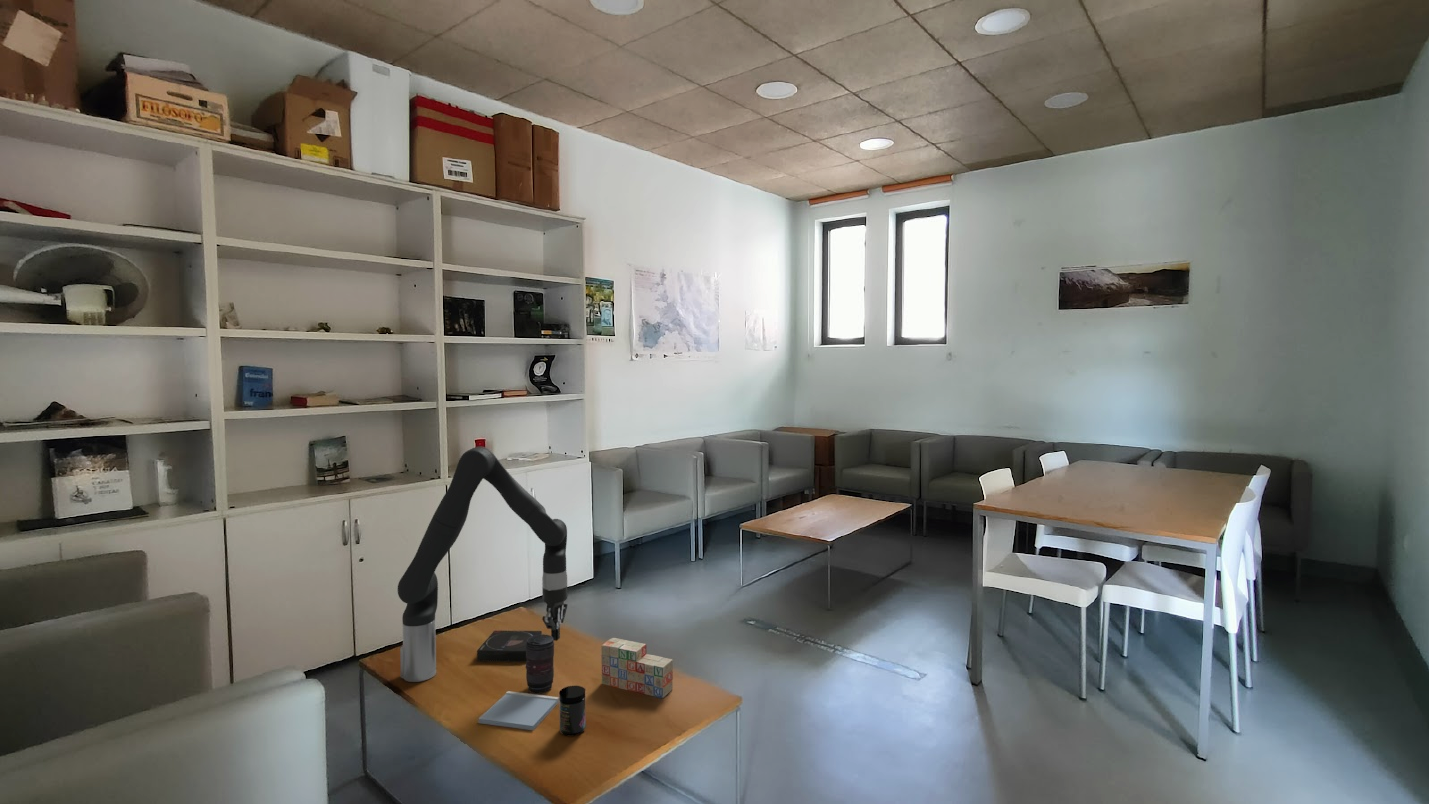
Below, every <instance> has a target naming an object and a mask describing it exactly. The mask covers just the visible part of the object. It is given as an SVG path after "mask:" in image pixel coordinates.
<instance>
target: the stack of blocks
mask: <svg viewBox="0 0 1429 804" xmlns="http://www.w3.org/2000/svg"><path fill="white" fill-rule="evenodd" d="M600 648H601V650H600V651H601V655H600V656H601V659H600V660H601V684H602V685H605V686H610V687H613V688H617V689H622V690H625V691H630V692H635V693H638V694H643V695H644V694H645V695H647V696H652V697H653V698H654V697H655V698H659V699H663V698H665V697H666V696H667V695H668V694H669V693H670V692H672V691H673V688H674V687H673V686H674V685H673V679H674V677H673V676H674V675H673V672H674V671H673V668H674V661H673V660H674V659H672V658H669V657H668V658H667V657H664V656H660V655H659V656H658V655H654V654H648V653H647V643H642V642H638V641H632V640H626V639H622V638H618V637H617V638H616V637H612V638H610V639H608V640H607V641H605V642H604V643H603V644H601V647H600Z"/></svg>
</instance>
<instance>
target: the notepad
mask: <svg viewBox="0 0 1429 804" xmlns="http://www.w3.org/2000/svg"><path fill="white" fill-rule="evenodd" d="M558 704H559V696H551V695H550V696H549V695H543V694H536V693H527V692H517V691H509V690H507V691H506V692H505V694H504V695H503V696H502V697H500V698H499V700H497V701H496V702H495V703H494V704H493V705H492V706H491V707H489V708H488V710H486V711H485V712H484V713H483V714H482V715H481V716H479V718H478V724H483V725H491V726H499V727H506V728H514V729H520V730H526V731H527V730H529V731H534V730H535V729H536V728H537V727H538V726H539V725H540V724H541V722H543V720H544V719H545V718H546V717H547V716H548V715H549V714H550V713H551V712H552V711H553V709H554V708H555V707H556V706H557V705H558Z"/></svg>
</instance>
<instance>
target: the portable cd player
mask: <svg viewBox="0 0 1429 804" xmlns="http://www.w3.org/2000/svg"><path fill="white" fill-rule="evenodd" d="M542 634H543V632H542V630H493V631H492V633H491V634H490V635H489V636H488V637H487V638H486V639H485V640H484V642H483V643H482V644H481V646H479V648H478V649H477V650H476V661H477V662H506V663H507V662H508V663H509V662H511V663H512V662H516V663H517V662H519V663H521V662H525V663H526V662H527V659H526V644H527V639H528V638H529V637H531V636H534V635H542Z"/></svg>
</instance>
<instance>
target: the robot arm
mask: <svg viewBox="0 0 1429 804" xmlns="http://www.w3.org/2000/svg"><path fill="white" fill-rule="evenodd" d="M456 465H457V466H456V468H455V471H454V474H453V476H452V479H451V482H450V485H449V487H448V489H447V491H446V492H445V494H444V495H443V497H442V499H441V500H440V502H439V504H438V506H437V508H436V509H435V511H434V514H433V516H432V518H431V520H430V522H429V523H428V525H427V528H426V530H425V532H424V535H423V537H422V539H421V541H420V543H419V546H418V549H417V550H416V554H415V555H414V557H413V558H412V560H411V562H410V563H409V566H408V567H407V569H406V570H405V572H404V574H403V575H402V576H401V578H400V579H399V581H398V584H397V595H398V598H399V599H400V600H401V601H402V602H403V603H404V604H406V607H405V609H404V611H403V614H402V646H401V647H400V650H399V656H400V658H399V659H400V679H403V680H404V681H405V682H409V683H420V682H425V681H427V680H430V679H432V678H433V677H434V676H436V675H437V646H436V645H437V644H436V643H437V642H436V641H437V638H436V613H437V609H438V601H439V600H438V599H439V597H438V596H439V595H438V594H439V585H438V584H439V583H438V577H437V574H436V573H435V571H436V570H437V567H438V566H439V565H440V563H441V562H442V560H443V559H444V557H445V556H446V555H447V553H448V552H449V551H450V550H451V548H452V547H453V545H454V544H455V542H456V541H457V539H458V537H459V535H460V533H461V531H462V529H463V528H464V526H465V523H466V521H467V517H468V514H469V510H470V509H469V508H470V505H471V501H472V498H473V496H474V493H475V492H476V490H477V489H478V487H479V486H480V484H481V482H483V480H485V481H486V482H488V483H489V484H490V485H491V486H493V487H494V488H495V490H496V491H497V492H498V493H499V494H500V496H501V497H502V498H503V500H504V501H505V503H506V504H507V506H508V507H509V508H510V509H511V510H512V511H513V512H514V513H515V514H516V515H517V516H518V517H519V518H520V519H521V520H522V521H523V522H524V523H526V524H527V525H528V526H529V527H530V529H531V530H532V532H533V533H534V534H535V535H536V536H537V538H538V539H539V540H540V541H541V542H542V543H543V544H544V554H543V557H542V580H541V581H542V583H541V585H542V587H541V588H542V593H541V594H542V601H543V602H544V603H545V604H546V610H545V611H546V615H544V616H542V617H541V620H542V621H543V623H544V625H545V627H546V629H548V630H550V636H552V637H553V641H554V642H557V641H559V640H560V639H561V631H560V630H561V626H562V624H563V623H564V621H565V617H566V612H567V610H568V603H564V602H565V601H567V600H568V572H567V555H566V551H567V545H568V544H567V541H568V528H567V527H568V526H567V524H566V522H564V521H563V520H562V519H559V518H552V517H551V516H550V515H549V514H548V513H547V511H546V508H545V507H544V505H542V504H541V503H540V502H539V500H537V499H536V498H535V497H534V496H533V495H532V494H531V493H529V492H528V491H527V490H526V489H525V488H524V487H523V486H522V485H521V484H520V483H519V482H518V481H517V480H516V479H515V478H514V477H513V476H512V474H511V473H510V472H508V470H507V469H506V468H505V467H504V465H502V463H501V462H500V460H499V459H498V458H497V457H496V455H495V454H494V453H493V452H492V450H490V449H489V448H487V447H485V446H475V447H472V448H470V449H468V450H466V451H465V452H464V453H462V455H460V458H459V459H458V462H457V464H456Z"/></svg>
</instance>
